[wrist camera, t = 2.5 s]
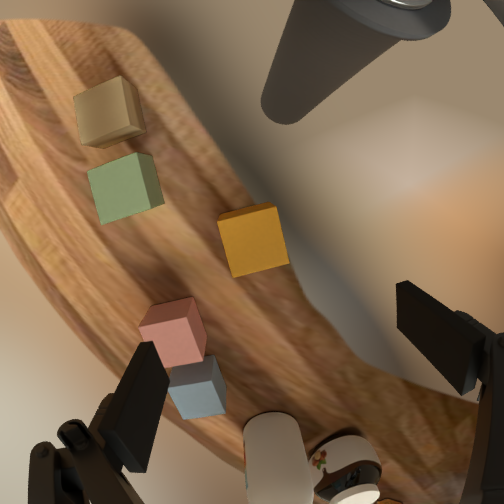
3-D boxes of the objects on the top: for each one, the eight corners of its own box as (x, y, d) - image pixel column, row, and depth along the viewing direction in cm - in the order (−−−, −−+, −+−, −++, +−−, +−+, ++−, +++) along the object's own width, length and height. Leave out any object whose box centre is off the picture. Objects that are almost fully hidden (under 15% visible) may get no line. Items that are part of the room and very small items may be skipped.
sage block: (152, 155, 28) (136, 151, 23) (164, 203, 29) (151, 208, 24) (108, 171, 28) (86, 171, 23) (120, 217, 29) (101, 225, 24)
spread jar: (346, 421, 37) (371, 480, 26) (384, 440, 40) (410, 489, 28) (288, 463, 39) (299, 520, 28) (332, 478, 41) (347, 527, 30)
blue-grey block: (214, 354, 33) (211, 380, 28) (226, 386, 34) (225, 413, 30) (173, 362, 33) (166, 387, 28) (188, 393, 34) (183, 419, 30)
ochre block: (269, 201, 29) (276, 206, 25) (281, 249, 31) (289, 263, 26) (219, 214, 30) (216, 221, 25) (232, 262, 31) (232, 278, 26)
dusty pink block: (193, 296, 31) (186, 316, 27) (207, 336, 33) (203, 361, 28) (150, 306, 31) (137, 327, 27) (166, 344, 33) (157, 369, 28)
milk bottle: (243, 410, 36) (251, 546, 16) (301, 408, 36) (337, 536, 17) (242, 445, 37) (248, 564, 18) (294, 443, 38) (319, 557, 18)
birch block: (137, 89, 26) (120, 74, 21) (146, 132, 27) (130, 124, 22) (94, 106, 26) (72, 96, 21) (103, 149, 27) (81, 145, 22)
